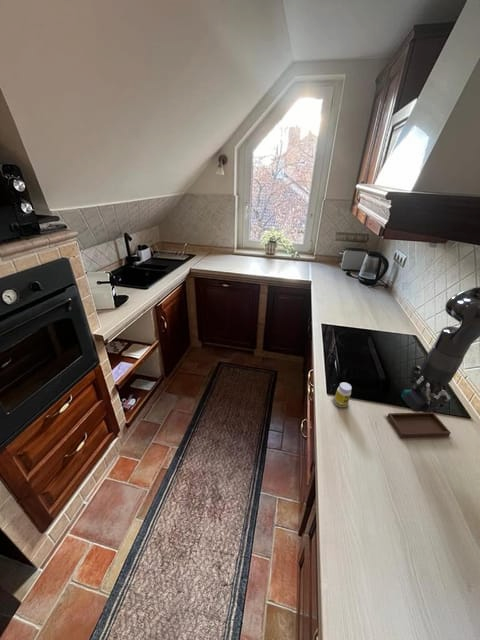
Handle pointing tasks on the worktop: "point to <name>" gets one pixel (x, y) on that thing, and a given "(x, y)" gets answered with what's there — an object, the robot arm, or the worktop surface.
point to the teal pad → (404, 394)
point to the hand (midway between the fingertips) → (418, 404)
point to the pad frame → (418, 425)
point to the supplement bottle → (343, 394)
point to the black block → (416, 400)
